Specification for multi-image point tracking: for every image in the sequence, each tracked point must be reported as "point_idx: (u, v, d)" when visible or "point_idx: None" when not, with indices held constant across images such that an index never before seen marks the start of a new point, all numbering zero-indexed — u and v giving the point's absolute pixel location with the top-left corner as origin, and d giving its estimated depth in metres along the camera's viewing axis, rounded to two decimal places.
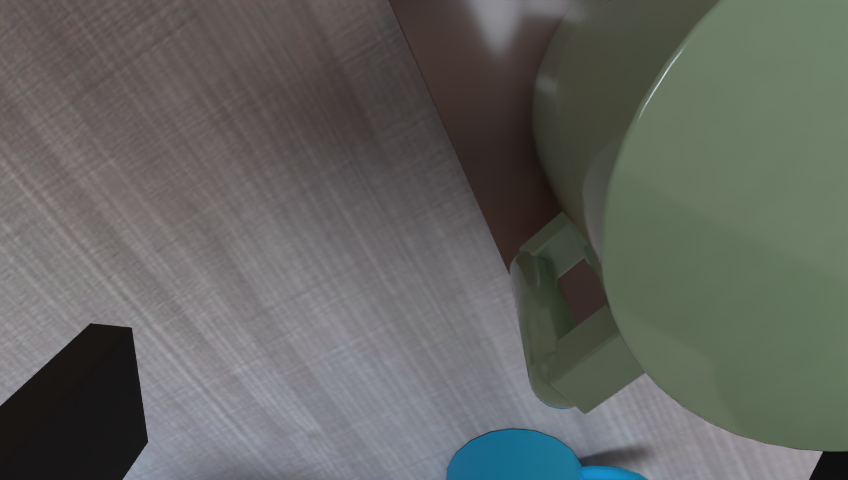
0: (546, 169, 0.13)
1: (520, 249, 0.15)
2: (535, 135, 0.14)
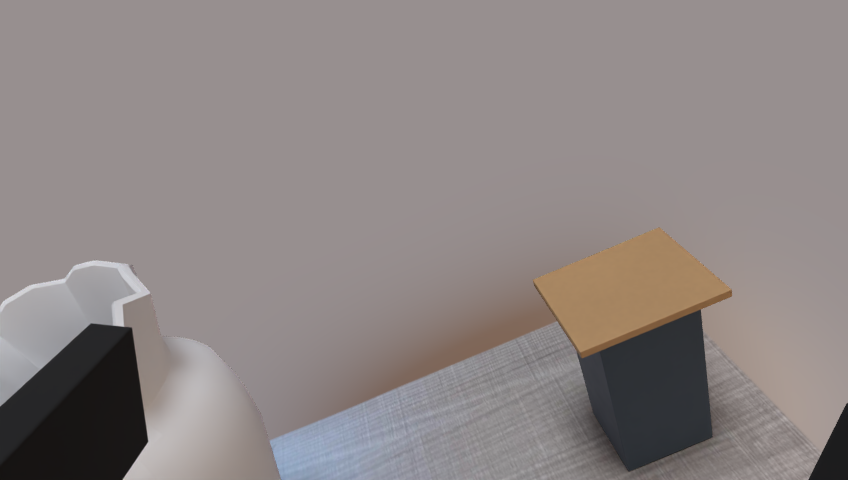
0: None
1: None
2: None
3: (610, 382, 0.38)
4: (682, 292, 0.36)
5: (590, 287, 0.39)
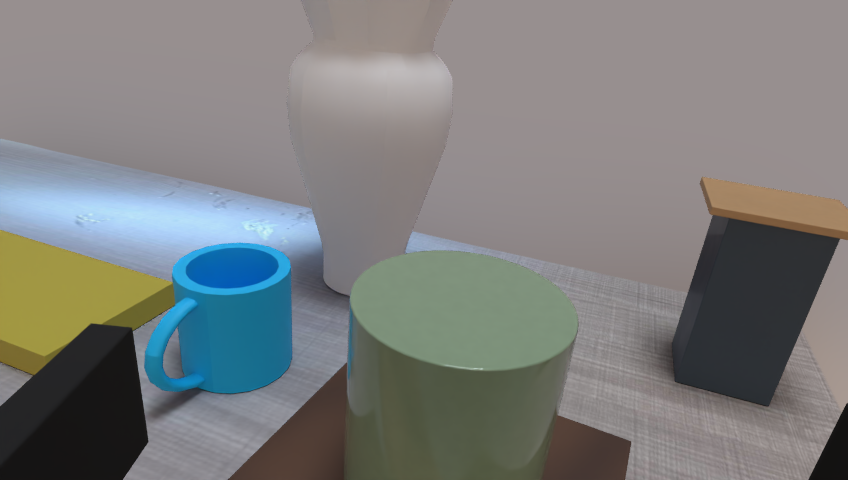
0: None
1: None
2: None
3: (716, 268, 0.42)
4: (828, 222, 0.39)
5: (748, 194, 0.43)
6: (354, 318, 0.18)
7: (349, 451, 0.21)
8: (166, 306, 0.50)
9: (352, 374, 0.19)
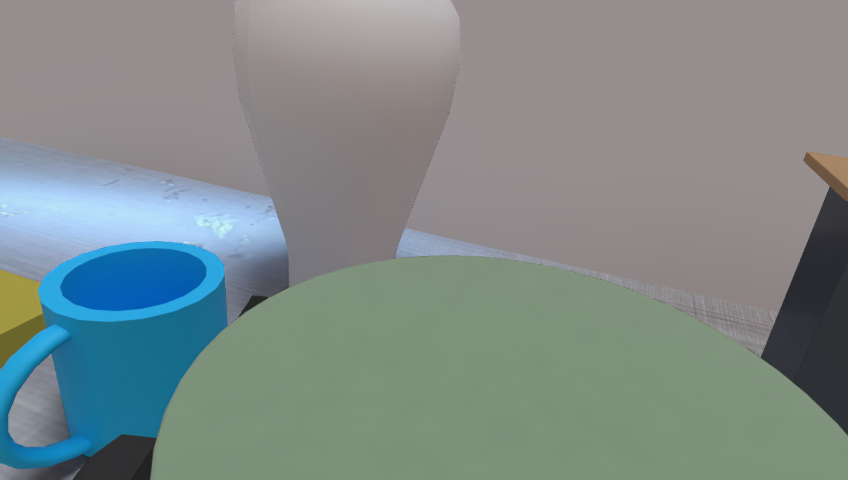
0: None
1: None
2: None
3: (843, 280, 0.29)
4: None
5: None
6: None
7: None
8: None
9: None
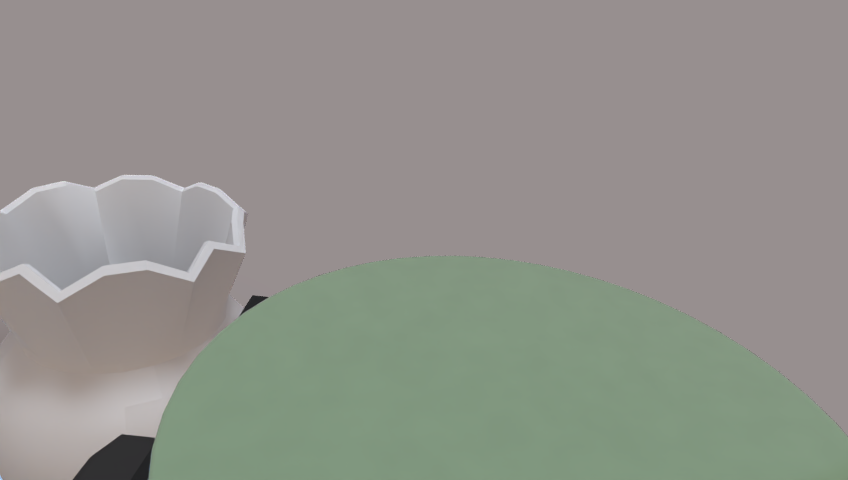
0: None
1: None
2: None
3: None
4: None
5: None
6: None
7: None
8: None
9: None
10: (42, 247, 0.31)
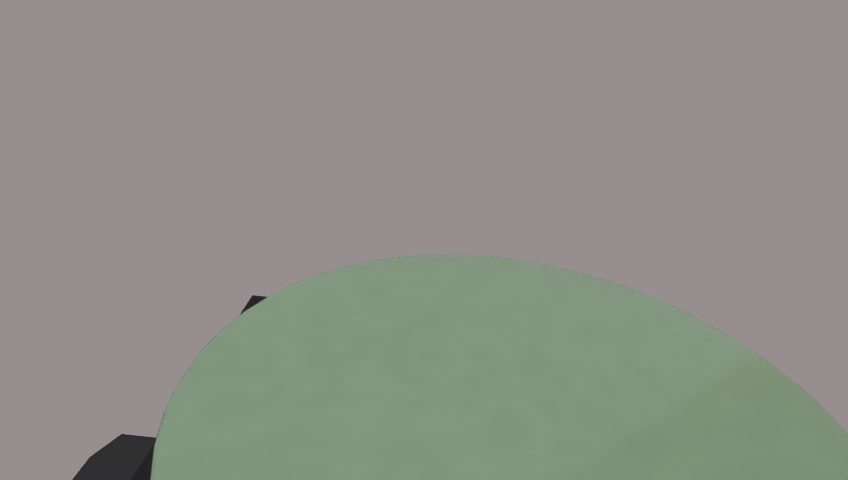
0: None
1: None
2: None
3: None
4: None
5: None
6: None
7: None
8: None
9: None
10: None
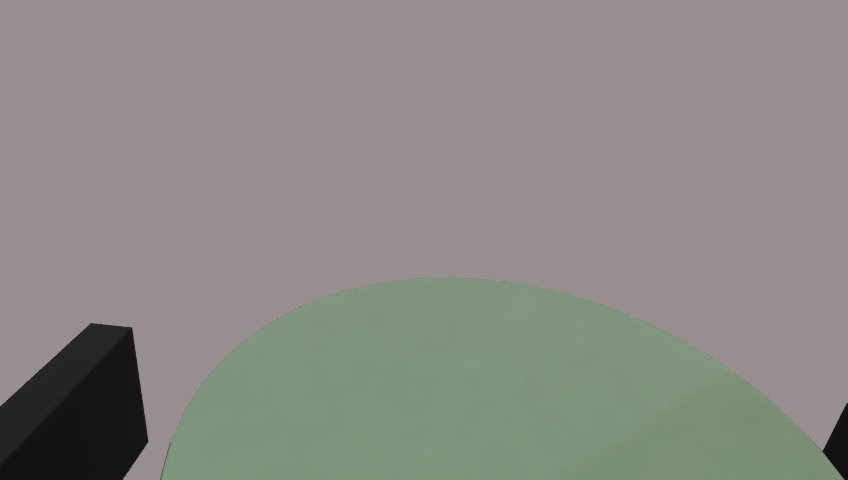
0: None
1: None
2: None
3: None
4: None
5: None
6: None
7: None
8: None
9: None
10: None
